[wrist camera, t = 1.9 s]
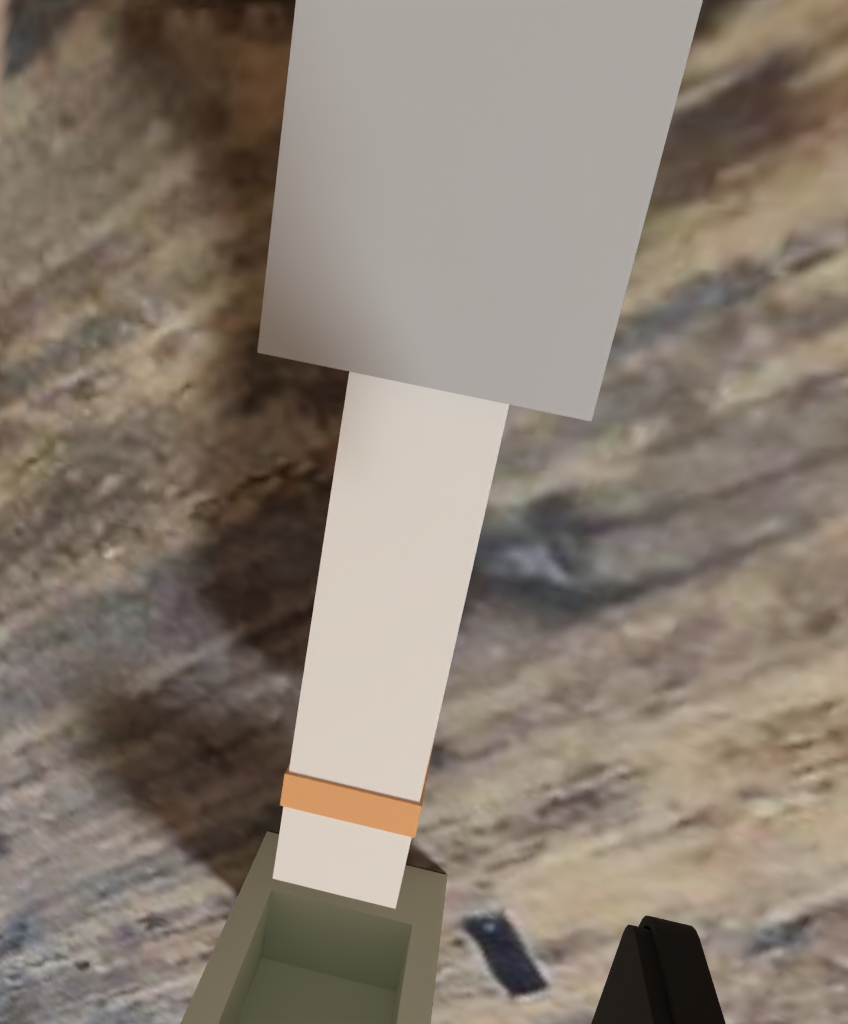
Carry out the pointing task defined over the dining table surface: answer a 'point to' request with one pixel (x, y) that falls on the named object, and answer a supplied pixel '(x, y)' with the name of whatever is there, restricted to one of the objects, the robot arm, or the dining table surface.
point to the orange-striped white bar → (383, 631)
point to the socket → (322, 954)
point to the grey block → (468, 188)
